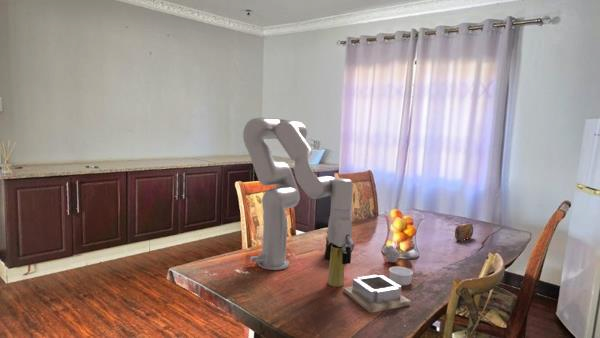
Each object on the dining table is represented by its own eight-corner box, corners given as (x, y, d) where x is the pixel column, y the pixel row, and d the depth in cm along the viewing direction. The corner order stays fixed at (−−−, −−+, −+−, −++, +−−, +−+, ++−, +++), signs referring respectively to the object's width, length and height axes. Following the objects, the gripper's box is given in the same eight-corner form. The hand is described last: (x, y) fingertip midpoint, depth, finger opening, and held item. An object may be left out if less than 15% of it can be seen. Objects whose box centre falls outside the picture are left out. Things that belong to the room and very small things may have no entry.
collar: (371, 305, 125) (372, 293, 125) (350, 289, 136) (351, 278, 136) (402, 299, 131) (403, 287, 130) (379, 284, 142) (380, 273, 141)
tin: (458, 242, 205) (460, 226, 204) (452, 240, 207) (454, 225, 206) (472, 238, 214) (474, 223, 213) (467, 236, 216) (469, 221, 215)
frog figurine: (386, 258, 174) (388, 242, 173) (401, 262, 170) (403, 246, 169) (380, 261, 170) (381, 245, 169) (395, 265, 165) (396, 249, 164)
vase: (332, 288, 140) (335, 249, 138) (324, 281, 145) (326, 244, 143) (347, 285, 143) (349, 247, 141) (337, 279, 148) (340, 242, 146)
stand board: (370, 312, 123) (370, 308, 123) (343, 291, 137) (343, 287, 137) (409, 305, 130) (410, 300, 130) (380, 285, 144) (380, 281, 144)
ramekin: (408, 288, 143) (409, 277, 143) (384, 282, 148) (385, 271, 147) (414, 280, 151) (415, 270, 150) (392, 275, 155) (393, 264, 155)
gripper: (320, 208, 147) (318, 253, 149) (344, 219, 131) (342, 268, 133) (337, 207, 150) (335, 251, 152) (363, 217, 134) (361, 265, 136)
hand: (339, 259), depth 142 cm, fingers open, 9 cm apart
